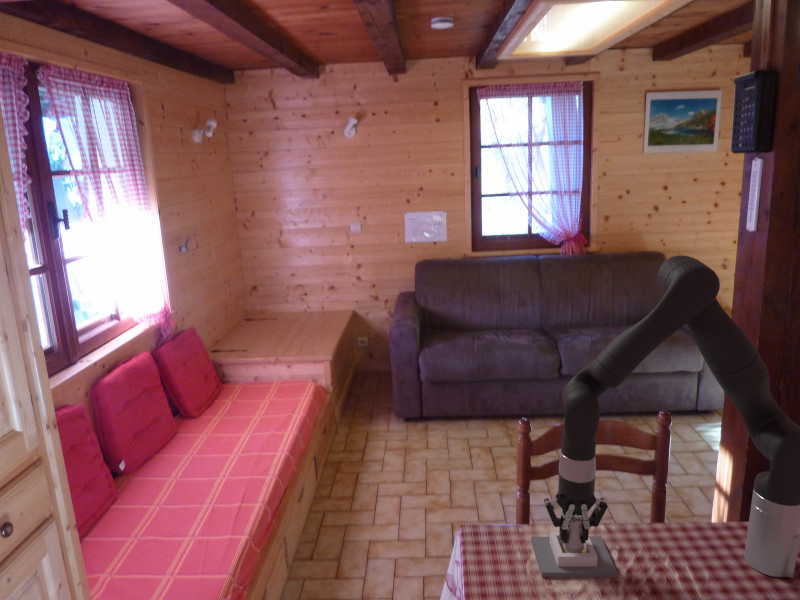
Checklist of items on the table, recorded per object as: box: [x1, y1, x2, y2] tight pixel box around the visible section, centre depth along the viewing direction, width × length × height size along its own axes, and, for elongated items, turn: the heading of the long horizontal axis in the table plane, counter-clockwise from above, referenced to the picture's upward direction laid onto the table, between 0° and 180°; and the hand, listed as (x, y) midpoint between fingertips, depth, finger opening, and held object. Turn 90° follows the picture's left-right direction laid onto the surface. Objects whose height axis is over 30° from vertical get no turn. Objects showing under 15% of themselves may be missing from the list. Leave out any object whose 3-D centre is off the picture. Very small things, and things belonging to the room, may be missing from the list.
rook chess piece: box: [563, 515, 584, 553], centre depth 131 cm, size 4×4×8 cm
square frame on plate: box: [530, 531, 618, 578], centre depth 132 cm, size 16×12×4 cm
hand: (573, 540), depth 132 cm, fingers closed on rook chess piece, 3 cm apart
